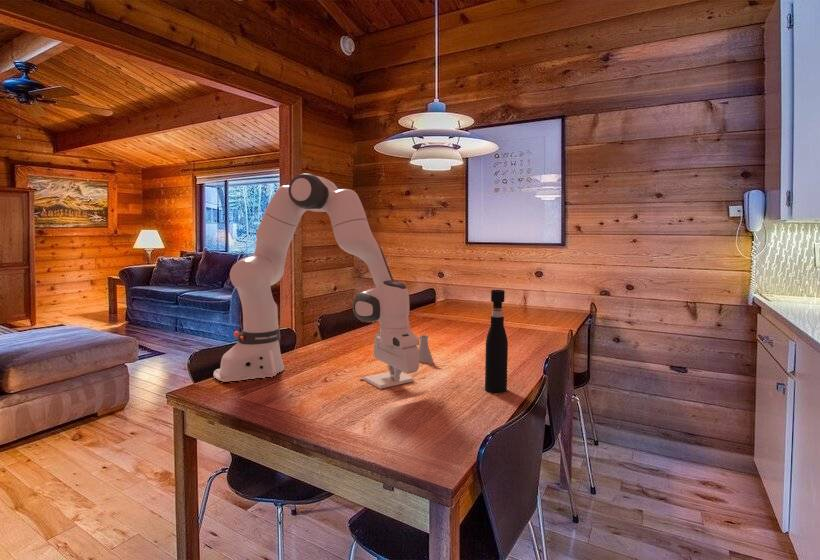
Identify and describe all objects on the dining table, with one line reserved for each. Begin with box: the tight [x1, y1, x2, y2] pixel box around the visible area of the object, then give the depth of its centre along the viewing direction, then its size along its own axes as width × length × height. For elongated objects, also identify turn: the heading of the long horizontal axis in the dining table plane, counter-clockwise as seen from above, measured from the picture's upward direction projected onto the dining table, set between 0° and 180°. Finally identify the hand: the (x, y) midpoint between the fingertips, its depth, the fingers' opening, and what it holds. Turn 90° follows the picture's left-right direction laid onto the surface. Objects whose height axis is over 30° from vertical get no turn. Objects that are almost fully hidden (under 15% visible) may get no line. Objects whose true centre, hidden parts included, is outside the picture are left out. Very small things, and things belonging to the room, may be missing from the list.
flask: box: [418, 334, 435, 366], centre depth 167 cm, size 7×7×10 cm
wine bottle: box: [484, 289, 509, 394], centre depth 139 cm, size 6×6×30 cm
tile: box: [363, 371, 415, 390], centre depth 145 cm, size 12×1×10 cm
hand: (394, 379), depth 143 cm, fingers closed
